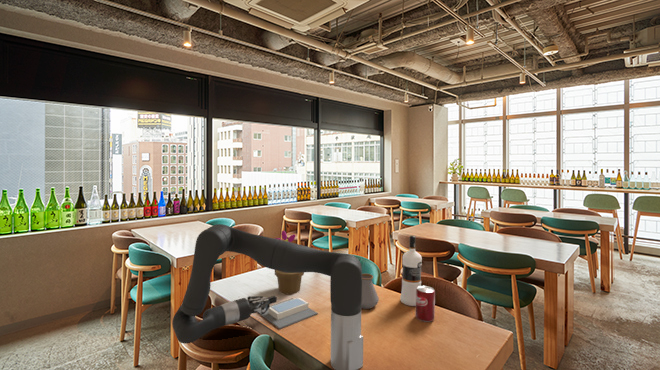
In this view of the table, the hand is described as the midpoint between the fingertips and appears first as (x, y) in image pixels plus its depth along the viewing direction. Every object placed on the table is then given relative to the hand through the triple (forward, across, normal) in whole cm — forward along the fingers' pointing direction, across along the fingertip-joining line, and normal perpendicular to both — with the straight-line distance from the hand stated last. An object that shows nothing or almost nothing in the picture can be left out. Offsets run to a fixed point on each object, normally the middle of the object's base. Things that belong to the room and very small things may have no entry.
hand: (275, 298), depth 124 cm
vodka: (+53, -27, +8) cm, 60 cm away
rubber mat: (+5, 0, +8) cm, 9 cm away
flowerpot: (+19, +19, +8) cm, 28 cm away
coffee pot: (+34, -11, +8) cm, 37 cm away
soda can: (+45, -39, +8) cm, 60 cm away
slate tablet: (-1, 0, +6) cm, 6 cm away
